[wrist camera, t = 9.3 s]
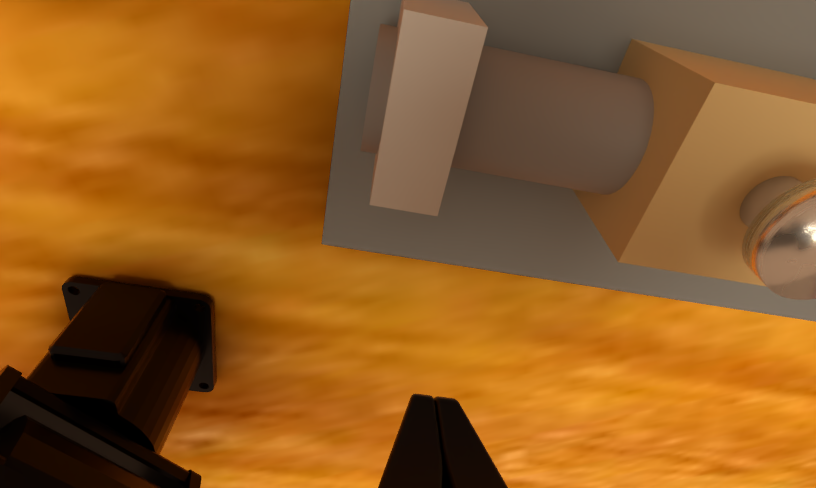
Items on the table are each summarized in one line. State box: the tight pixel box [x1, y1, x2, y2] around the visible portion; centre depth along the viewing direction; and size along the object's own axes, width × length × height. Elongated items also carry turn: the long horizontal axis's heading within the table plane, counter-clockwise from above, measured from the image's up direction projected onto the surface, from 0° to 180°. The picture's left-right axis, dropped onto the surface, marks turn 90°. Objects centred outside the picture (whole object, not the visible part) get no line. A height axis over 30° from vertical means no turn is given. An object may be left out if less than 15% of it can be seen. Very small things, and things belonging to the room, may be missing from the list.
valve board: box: [322, 0, 816, 321], centre depth 15 cm, size 14×24×8 cm, turn 79°
